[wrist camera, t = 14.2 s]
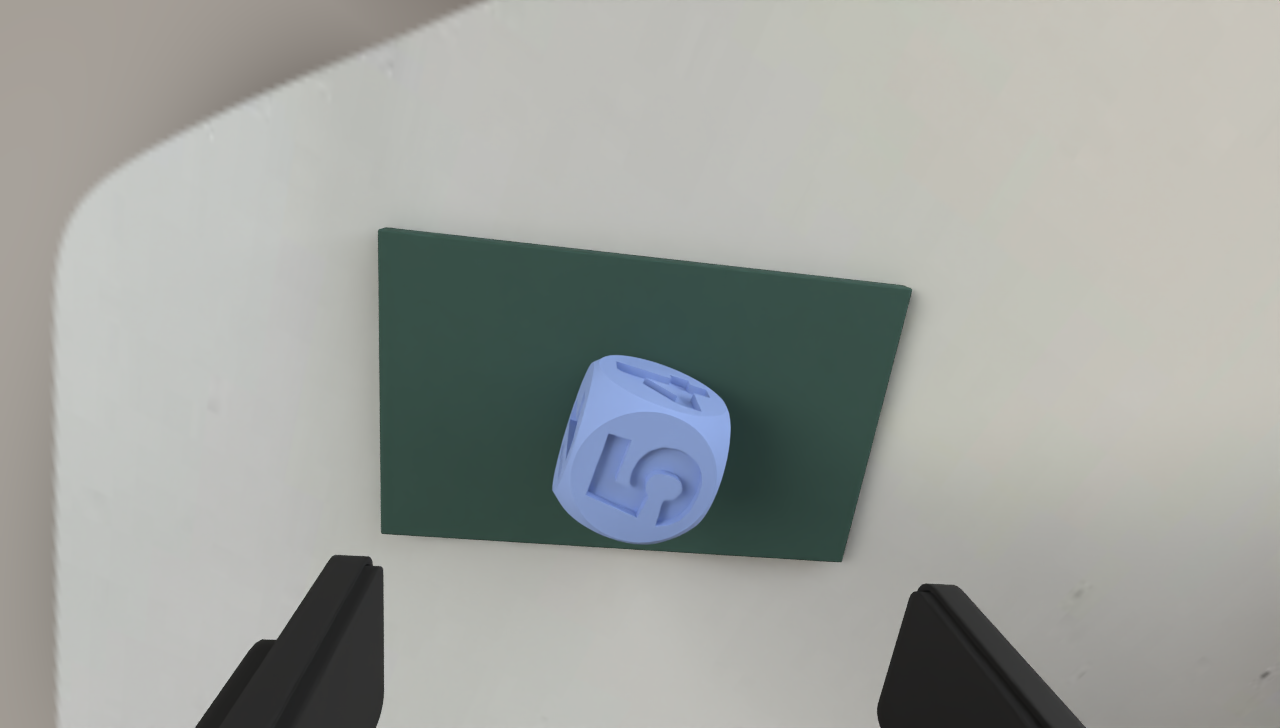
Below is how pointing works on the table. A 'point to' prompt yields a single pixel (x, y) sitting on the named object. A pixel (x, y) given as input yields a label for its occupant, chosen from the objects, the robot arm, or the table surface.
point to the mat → (630, 326)
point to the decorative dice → (641, 451)
